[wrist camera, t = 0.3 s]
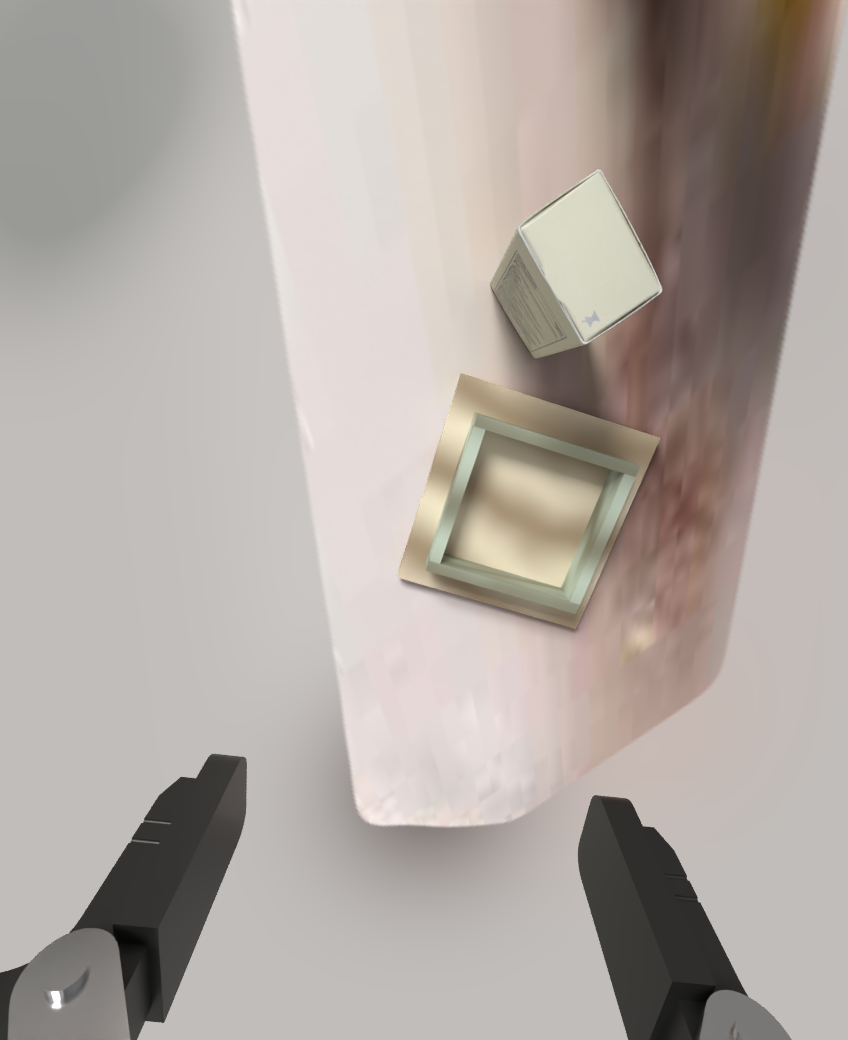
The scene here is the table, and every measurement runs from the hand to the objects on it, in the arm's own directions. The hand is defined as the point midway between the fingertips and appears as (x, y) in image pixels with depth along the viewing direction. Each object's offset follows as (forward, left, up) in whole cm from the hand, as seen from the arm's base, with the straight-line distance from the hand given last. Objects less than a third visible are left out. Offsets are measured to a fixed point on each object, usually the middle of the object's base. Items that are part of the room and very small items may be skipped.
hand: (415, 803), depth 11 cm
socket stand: (-2, +7, -28) cm, 29 cm away
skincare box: (-16, +3, -28) cm, 32 cm away
